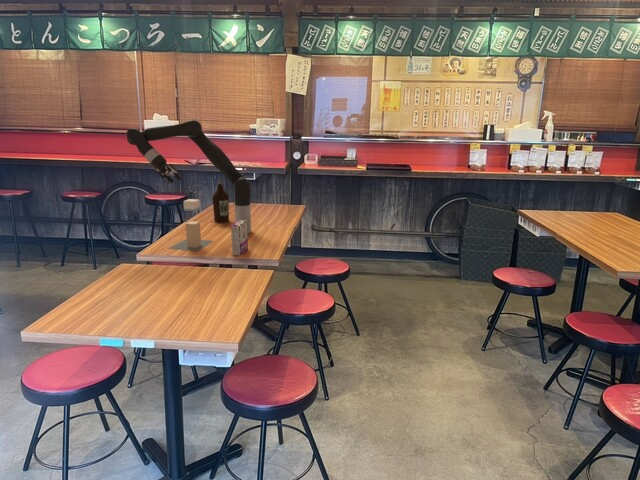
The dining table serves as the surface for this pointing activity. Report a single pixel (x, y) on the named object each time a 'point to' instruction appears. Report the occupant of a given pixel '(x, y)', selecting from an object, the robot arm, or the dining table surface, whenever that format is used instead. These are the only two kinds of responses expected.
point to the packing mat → (183, 246)
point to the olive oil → (221, 204)
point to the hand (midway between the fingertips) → (176, 180)
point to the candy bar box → (239, 237)
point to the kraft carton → (193, 234)
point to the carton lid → (191, 205)
